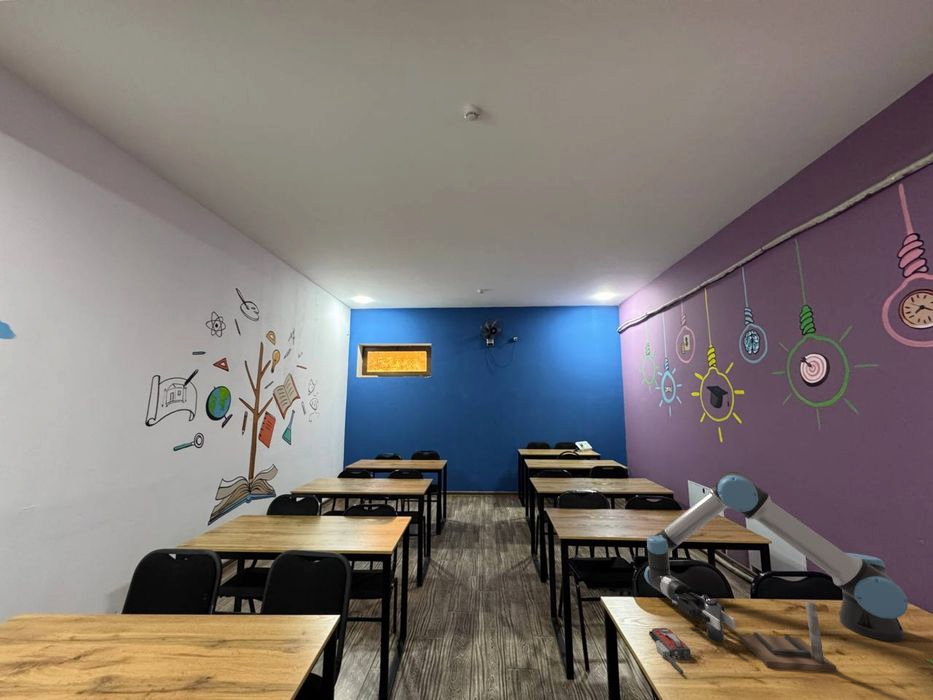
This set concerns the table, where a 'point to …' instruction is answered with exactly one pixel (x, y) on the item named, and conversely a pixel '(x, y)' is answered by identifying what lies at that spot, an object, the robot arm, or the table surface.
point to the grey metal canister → (715, 611)
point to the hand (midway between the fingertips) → (726, 624)
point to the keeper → (792, 646)
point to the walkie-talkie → (670, 646)
